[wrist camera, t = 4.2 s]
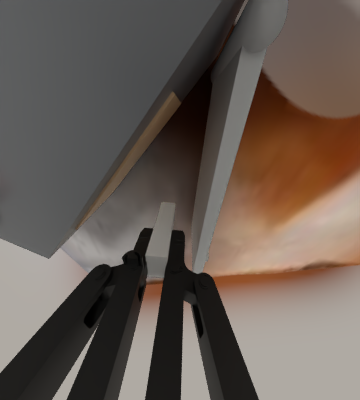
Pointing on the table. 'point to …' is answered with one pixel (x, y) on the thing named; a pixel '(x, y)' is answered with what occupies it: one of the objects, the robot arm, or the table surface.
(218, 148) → the grey thin flat plate
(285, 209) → the table surface
